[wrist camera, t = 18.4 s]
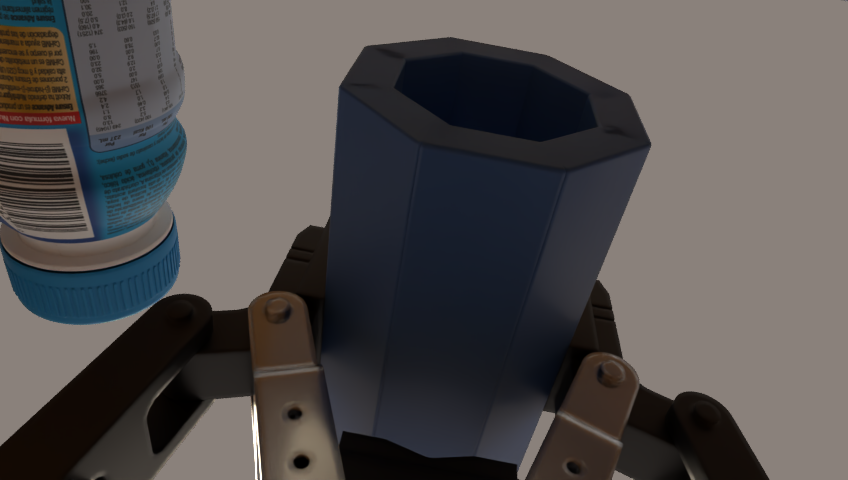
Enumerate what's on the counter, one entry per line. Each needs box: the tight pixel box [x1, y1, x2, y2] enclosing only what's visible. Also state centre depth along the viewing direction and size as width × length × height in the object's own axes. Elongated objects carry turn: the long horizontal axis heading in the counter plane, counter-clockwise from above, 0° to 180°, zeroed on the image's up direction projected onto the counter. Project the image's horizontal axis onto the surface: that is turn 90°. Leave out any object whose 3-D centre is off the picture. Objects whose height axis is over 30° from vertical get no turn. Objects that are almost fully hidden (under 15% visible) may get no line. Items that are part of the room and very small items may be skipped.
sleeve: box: [320, 37, 651, 472], centre depth 14 cm, size 5×5×10 cm
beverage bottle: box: [0, 0, 187, 325], centre depth 22 cm, size 8×8×20 cm
